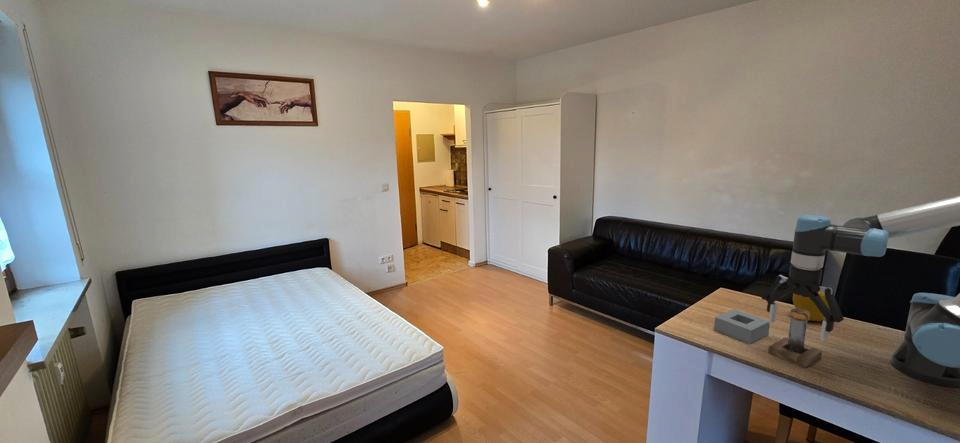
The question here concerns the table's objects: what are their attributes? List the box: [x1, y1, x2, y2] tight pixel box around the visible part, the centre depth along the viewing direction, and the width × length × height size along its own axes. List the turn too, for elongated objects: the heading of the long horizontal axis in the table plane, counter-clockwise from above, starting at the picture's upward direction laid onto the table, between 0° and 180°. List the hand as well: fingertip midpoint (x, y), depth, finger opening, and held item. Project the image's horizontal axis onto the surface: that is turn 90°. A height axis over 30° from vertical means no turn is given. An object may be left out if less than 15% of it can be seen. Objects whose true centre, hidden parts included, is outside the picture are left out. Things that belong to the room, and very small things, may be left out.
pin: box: [787, 307, 810, 354], centre depth 121 cm, size 5×5×15 cm
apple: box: [792, 291, 830, 322], centre depth 144 cm, size 11×11×13 cm
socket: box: [713, 308, 771, 345], centre depth 137 cm, size 12×12×5 cm
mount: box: [767, 337, 823, 369], centre depth 122 cm, size 10×10×2 cm
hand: (796, 330), depth 121 cm, fingers open, 13 cm apart
